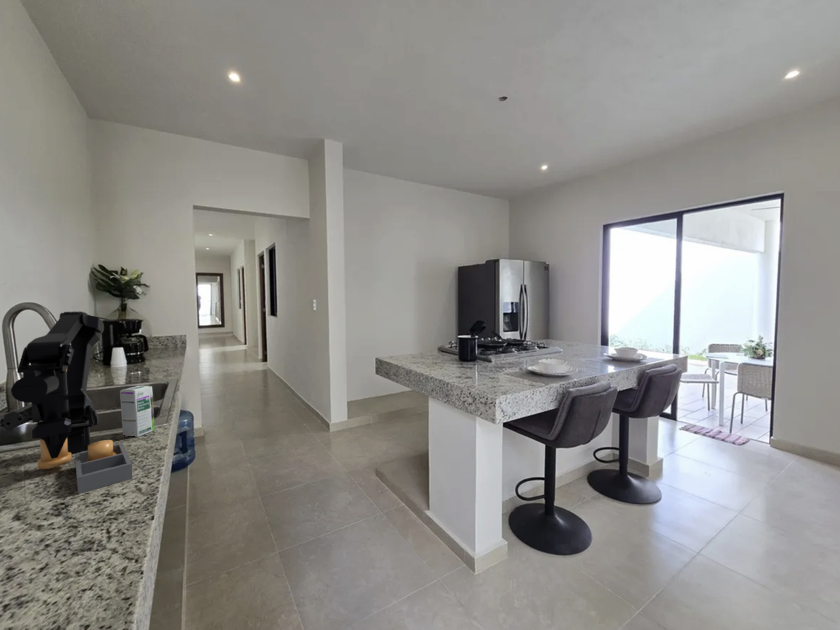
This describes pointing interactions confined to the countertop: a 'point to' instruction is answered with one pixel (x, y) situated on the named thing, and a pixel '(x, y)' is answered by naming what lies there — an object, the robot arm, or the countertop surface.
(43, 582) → the countertop surface
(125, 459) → the gray divided tray
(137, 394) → the syrup box
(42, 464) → the tan pear-shaped knob
